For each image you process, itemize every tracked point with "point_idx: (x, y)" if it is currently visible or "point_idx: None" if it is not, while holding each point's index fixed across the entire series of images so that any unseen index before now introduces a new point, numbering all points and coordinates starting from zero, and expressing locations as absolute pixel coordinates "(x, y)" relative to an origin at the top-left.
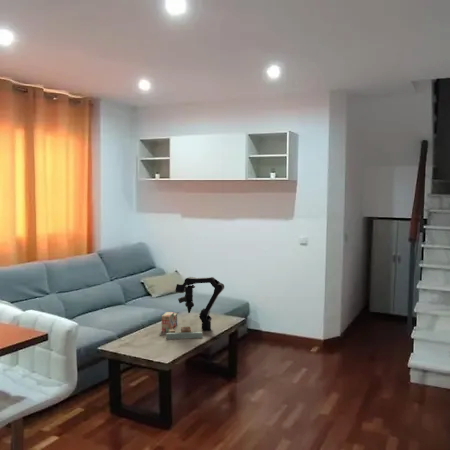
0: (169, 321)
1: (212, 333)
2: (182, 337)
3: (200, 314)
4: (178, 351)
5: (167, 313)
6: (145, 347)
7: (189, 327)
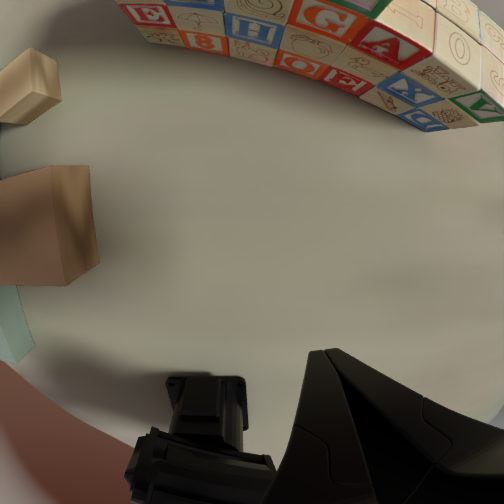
0: None
1: (113, 419)
2: None
3: (147, 497)
4: None
5: None
6: None
7: (39, 275)
